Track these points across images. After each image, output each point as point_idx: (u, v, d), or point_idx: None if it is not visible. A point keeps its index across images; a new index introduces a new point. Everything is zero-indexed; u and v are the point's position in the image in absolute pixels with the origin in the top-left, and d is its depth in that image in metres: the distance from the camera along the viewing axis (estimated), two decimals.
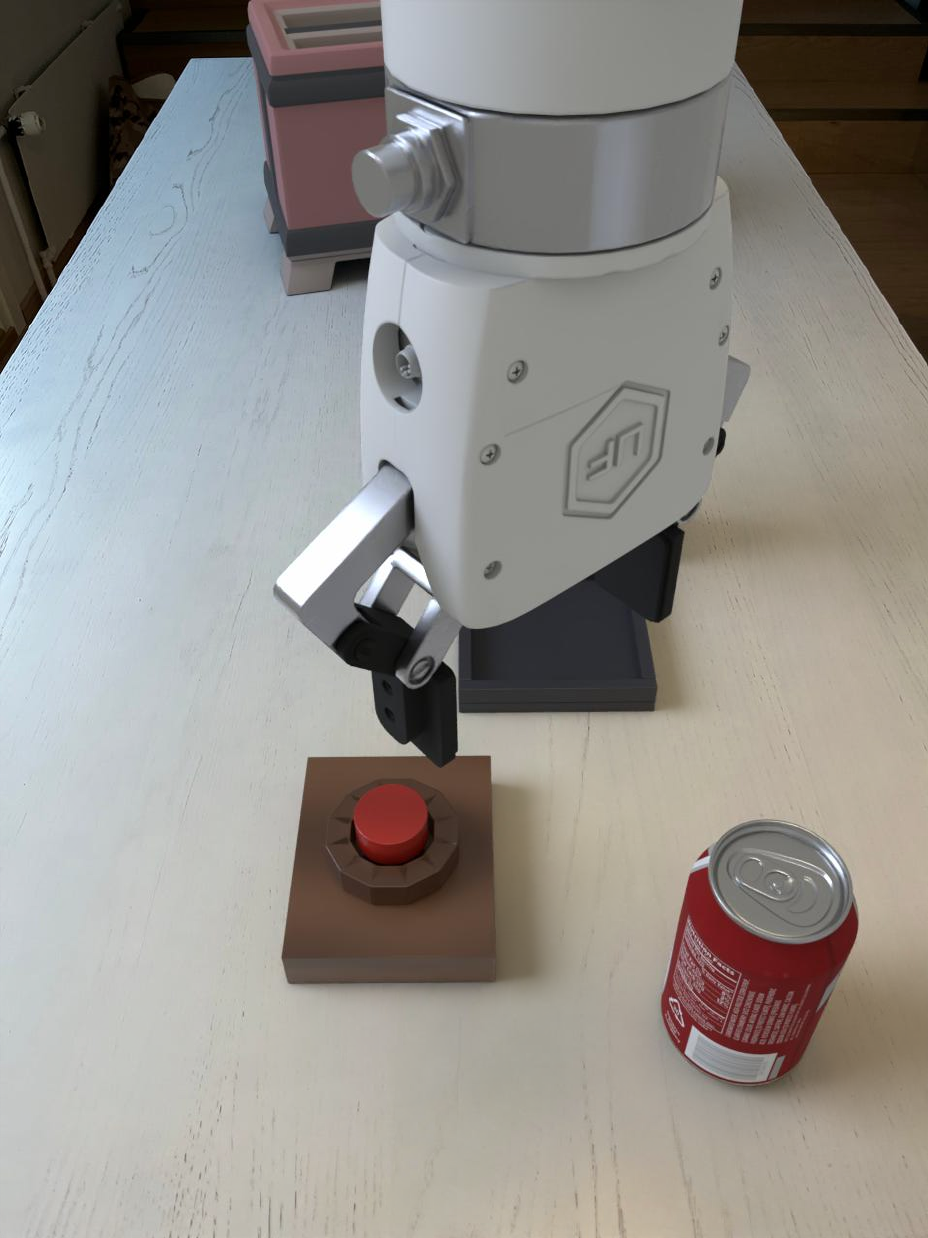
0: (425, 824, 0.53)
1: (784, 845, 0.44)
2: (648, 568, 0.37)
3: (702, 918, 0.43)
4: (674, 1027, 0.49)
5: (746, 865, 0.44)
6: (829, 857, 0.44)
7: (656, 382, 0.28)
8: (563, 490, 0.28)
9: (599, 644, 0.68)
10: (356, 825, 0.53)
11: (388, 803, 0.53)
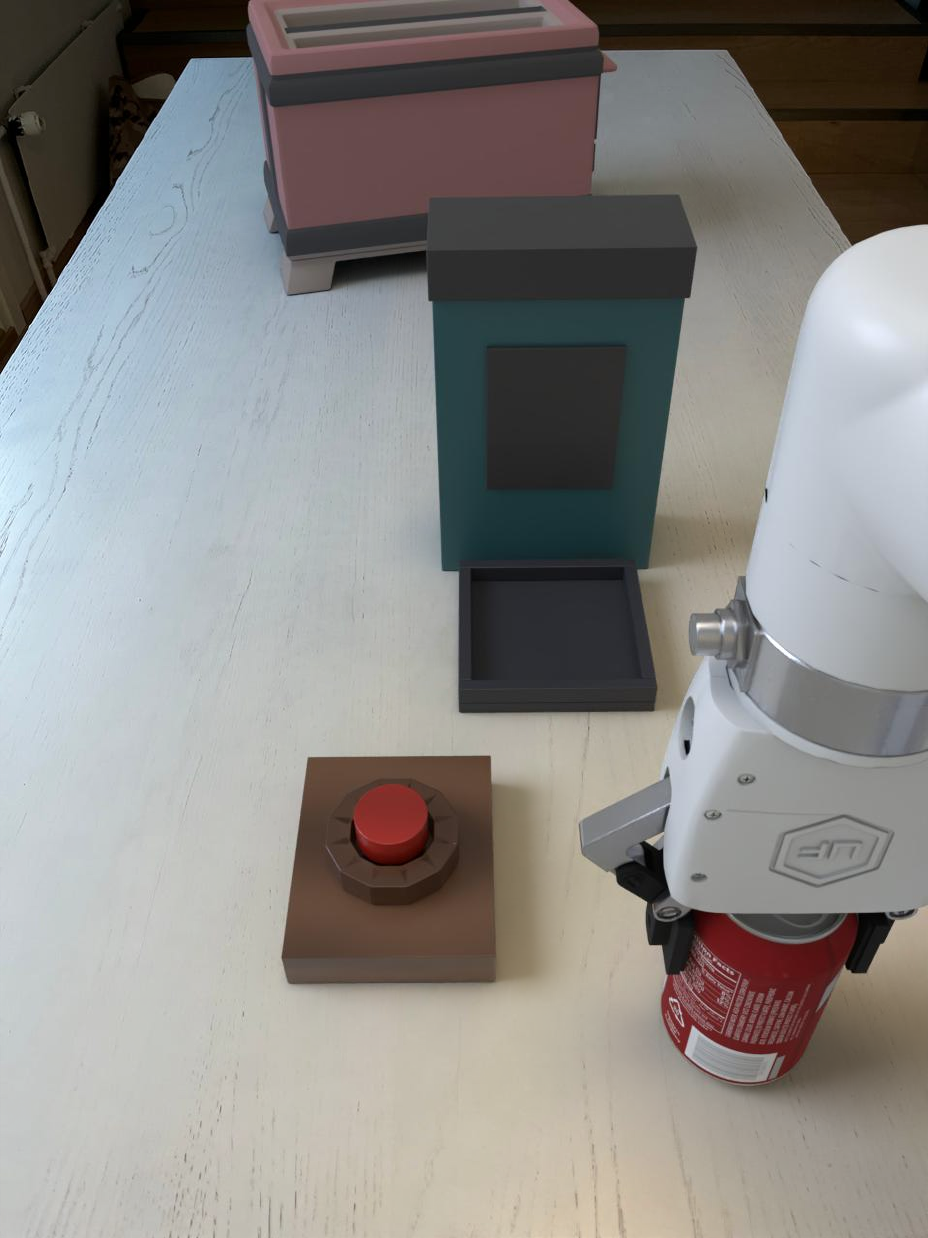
0: (425, 824, 0.53)
1: None
2: None
3: (702, 918, 0.43)
4: (674, 1027, 0.49)
5: None
6: None
7: (879, 823, 0.35)
8: (772, 856, 0.37)
9: (599, 644, 0.68)
10: (356, 825, 0.53)
11: (388, 803, 0.53)
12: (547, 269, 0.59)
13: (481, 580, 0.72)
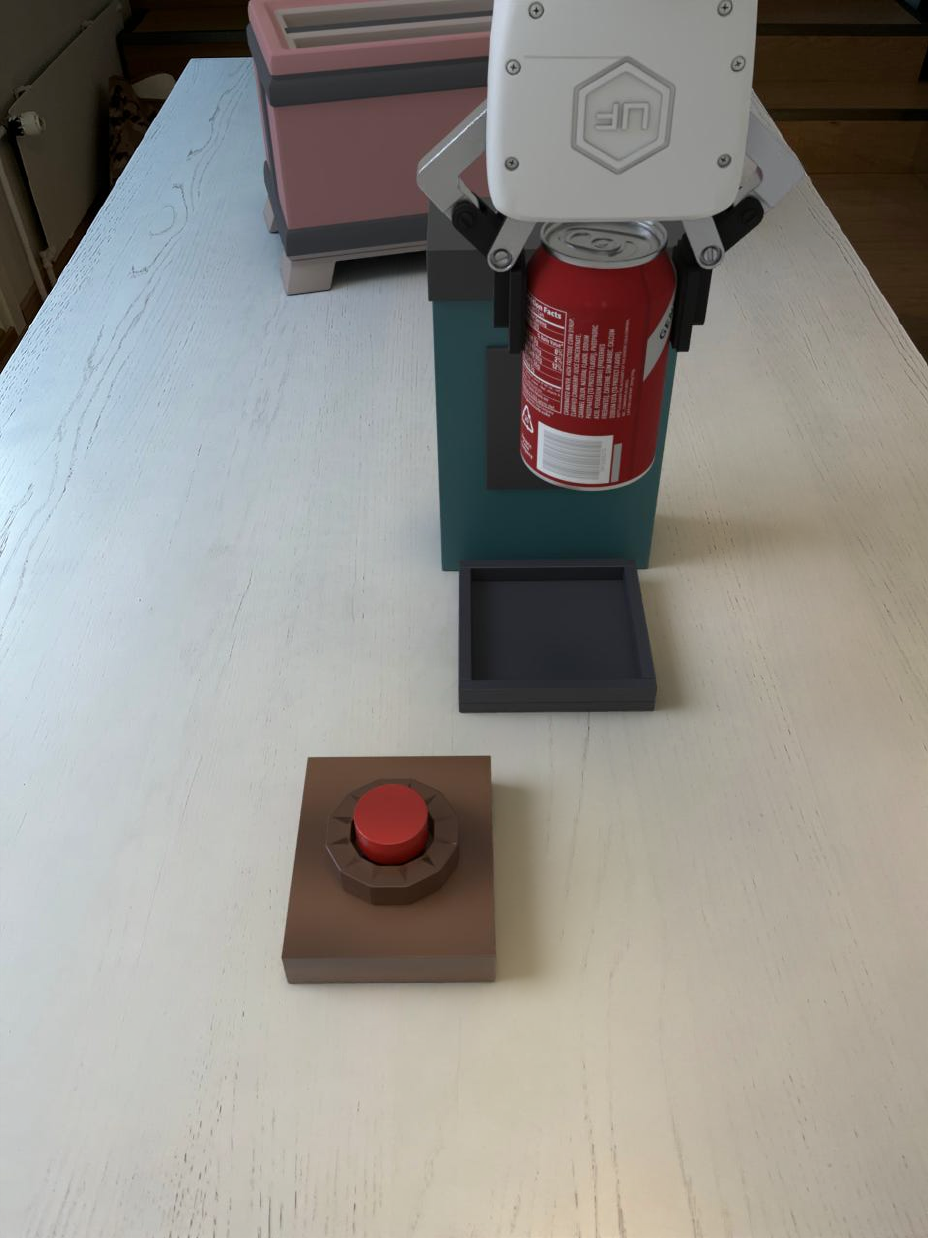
0: (425, 824, 0.53)
1: (612, 224, 0.49)
2: (676, 299, 0.48)
3: (534, 275, 0.47)
4: (527, 443, 0.53)
5: (576, 236, 0.48)
6: (651, 228, 0.48)
7: (659, 70, 0.40)
8: (572, 125, 0.41)
9: (599, 644, 0.68)
10: (356, 825, 0.53)
11: (388, 803, 0.53)
12: None
13: (481, 580, 0.72)
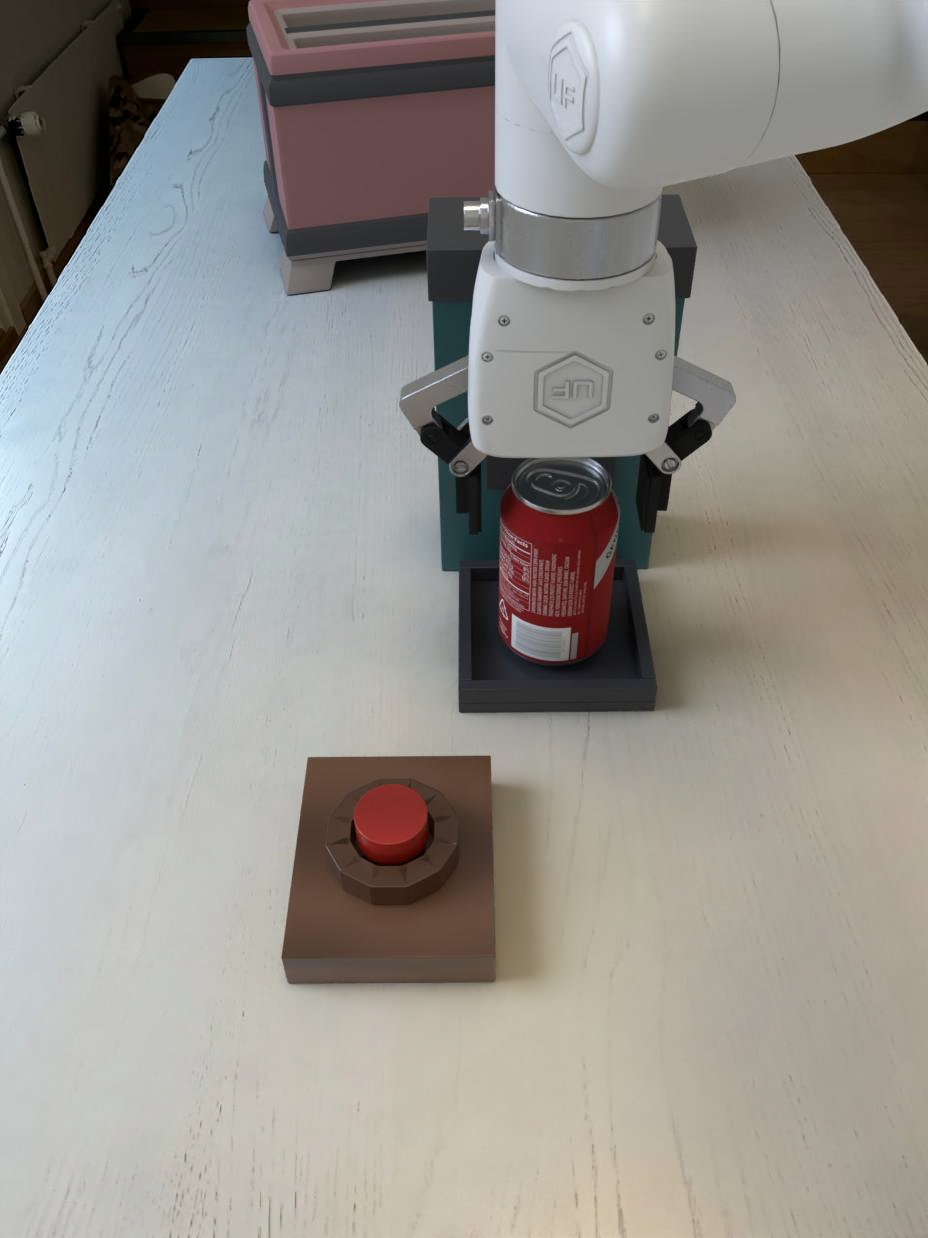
0: (425, 824, 0.53)
1: (569, 466, 0.62)
2: (644, 494, 0.60)
3: (507, 511, 0.60)
4: (503, 626, 0.66)
5: (541, 477, 0.61)
6: (600, 472, 0.61)
7: (600, 360, 0.52)
8: (534, 395, 0.53)
9: None
10: (356, 825, 0.53)
11: (388, 803, 0.53)
12: None
13: (481, 580, 0.72)
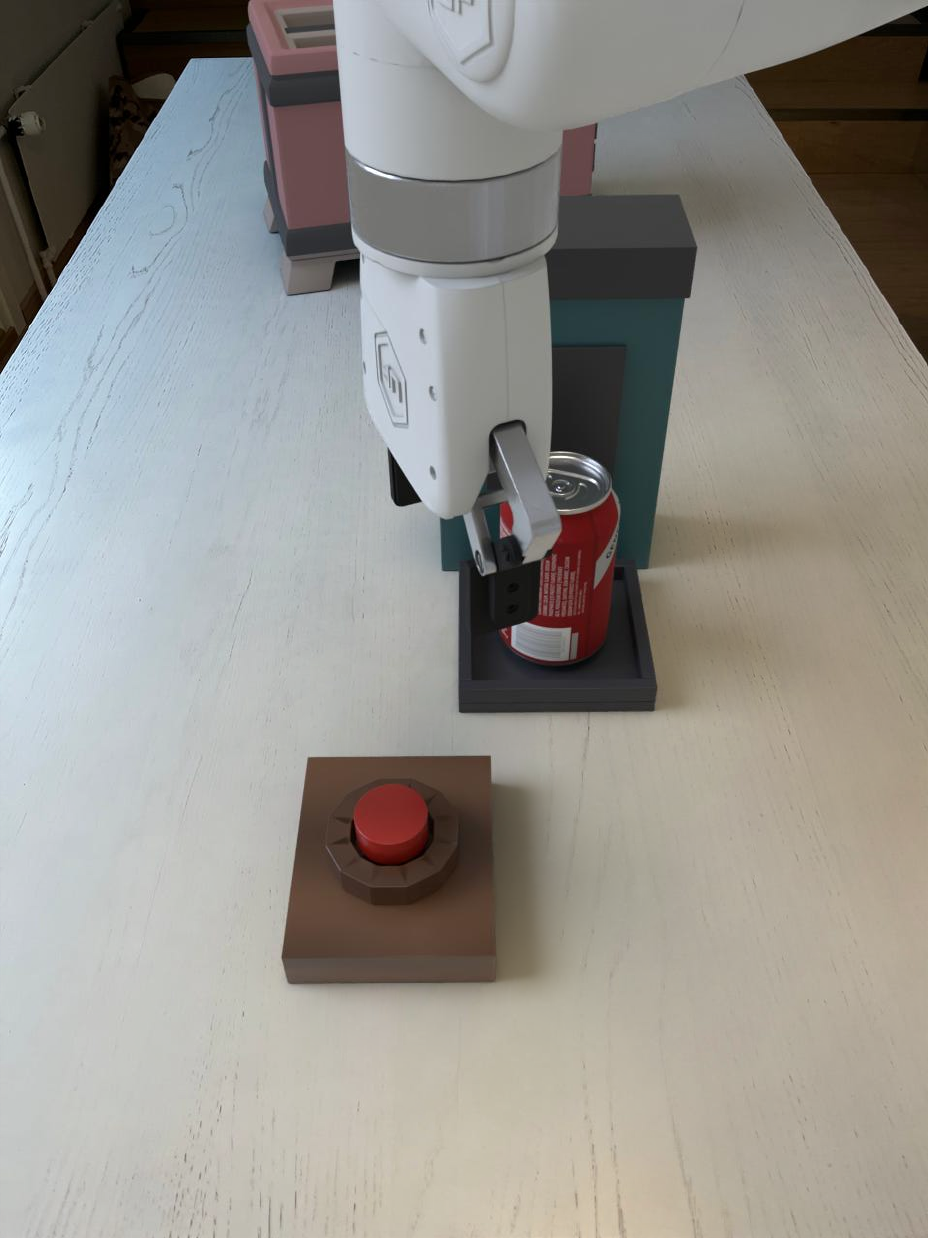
0: (425, 824, 0.53)
1: (569, 466, 0.62)
2: None
3: (507, 511, 0.60)
4: None
5: None
6: (600, 472, 0.61)
7: (398, 358, 0.41)
8: (376, 363, 0.44)
9: None
10: (356, 825, 0.53)
11: (388, 803, 0.53)
12: (547, 269, 0.59)
13: None
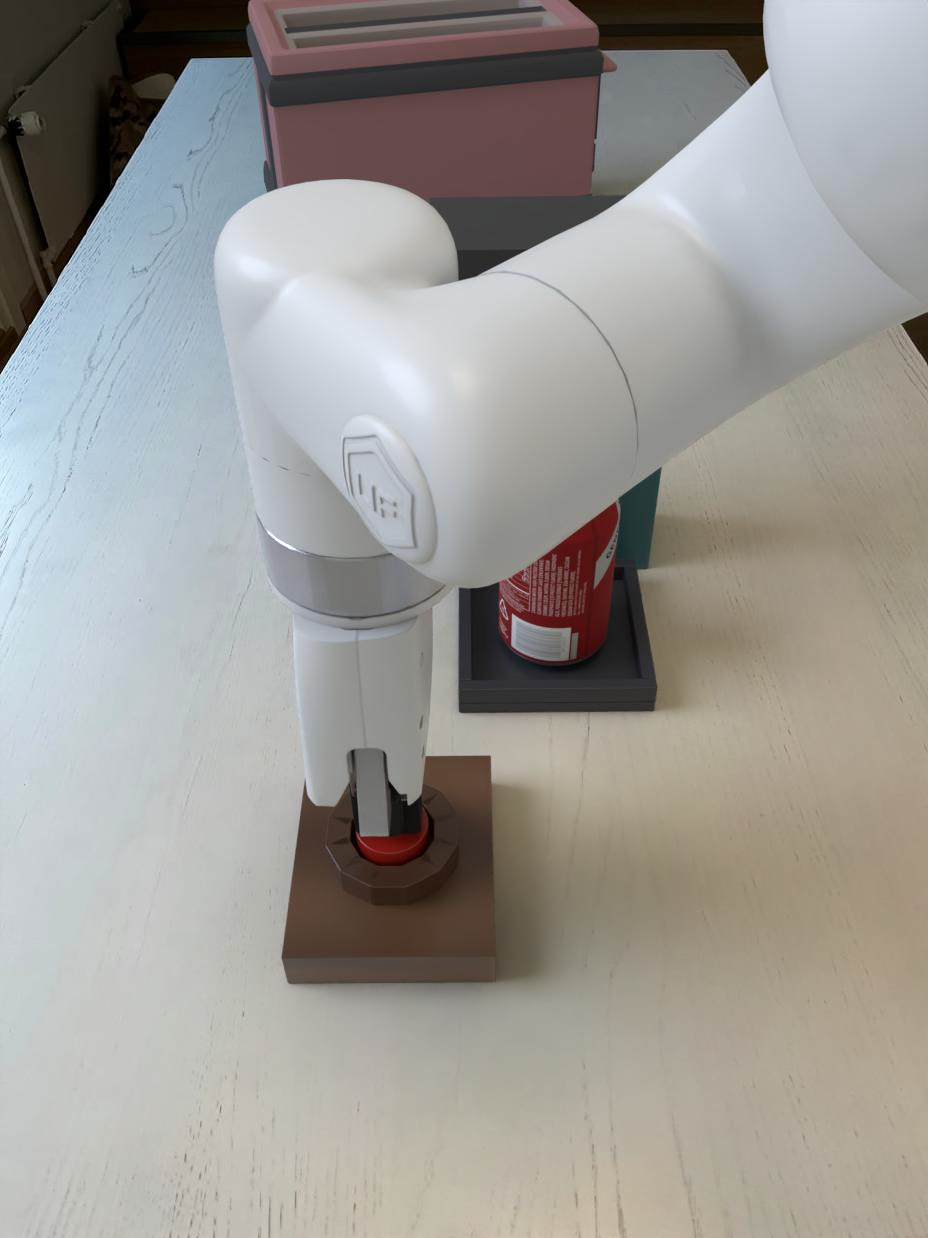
0: (426, 833, 0.53)
1: None
2: None
3: None
4: (503, 626, 0.66)
5: None
6: None
7: None
8: None
9: None
10: (357, 834, 0.53)
11: None
12: None
13: None
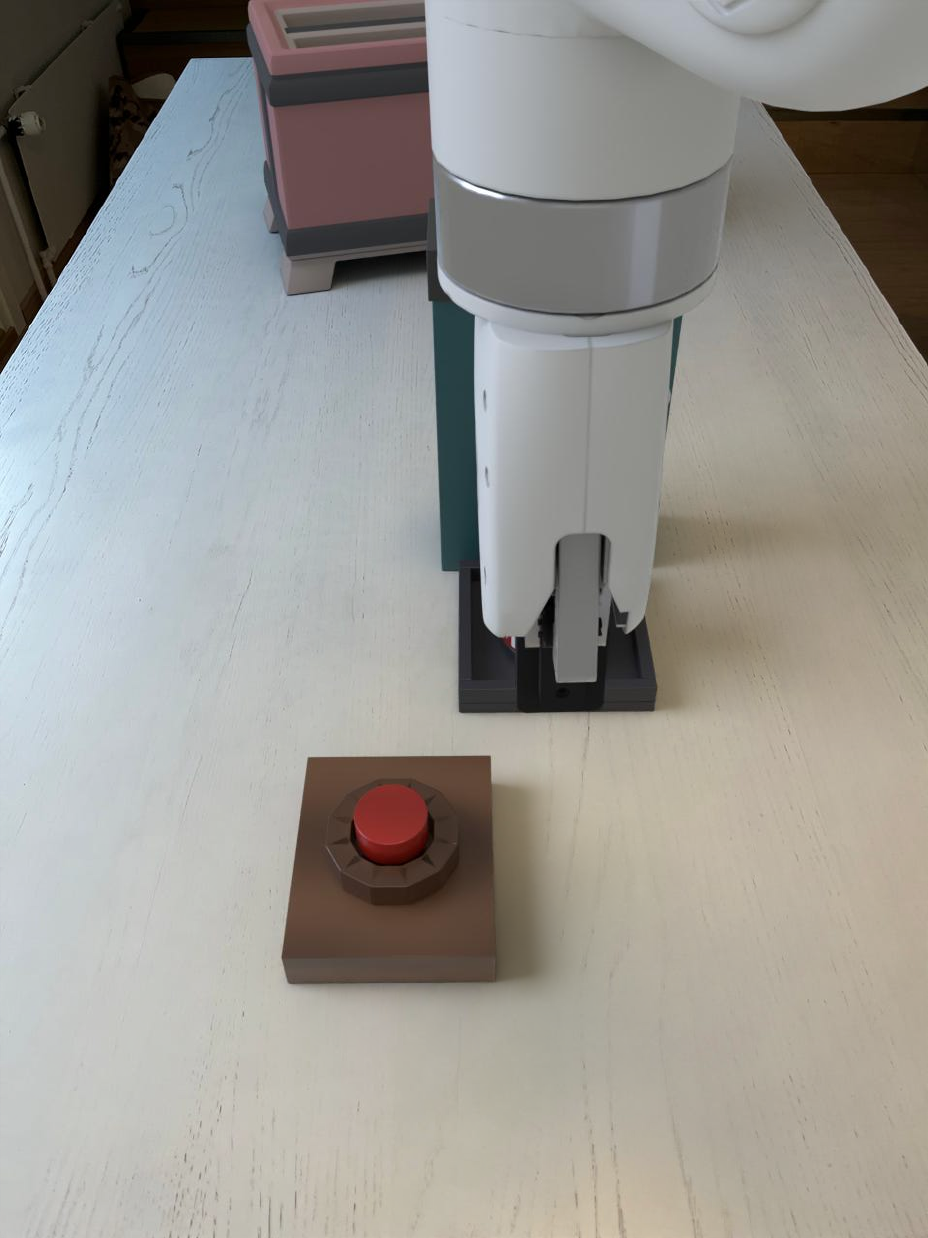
0: (425, 824, 0.53)
1: None
2: None
3: None
4: None
5: None
6: None
7: (476, 421, 0.31)
8: None
9: None
10: (356, 825, 0.53)
11: (388, 803, 0.53)
12: None
13: None
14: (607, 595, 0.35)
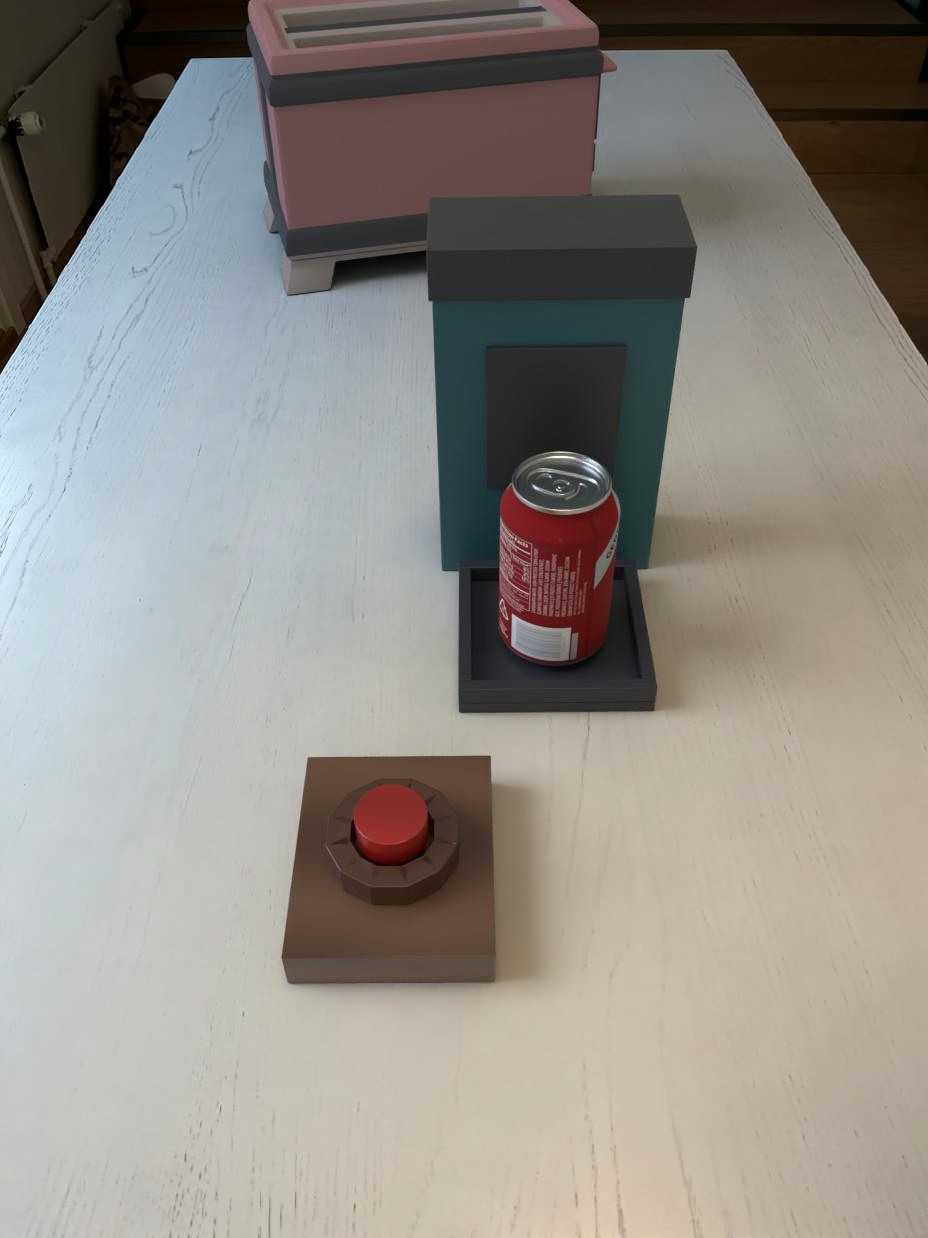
0: (425, 824, 0.53)
1: (569, 466, 0.62)
2: None
3: (507, 511, 0.60)
4: (503, 626, 0.66)
5: (541, 477, 0.61)
6: (600, 472, 0.61)
7: None
8: None
9: None
10: (356, 825, 0.53)
11: (388, 803, 0.53)
12: (547, 269, 0.59)
13: (481, 580, 0.72)
14: None
